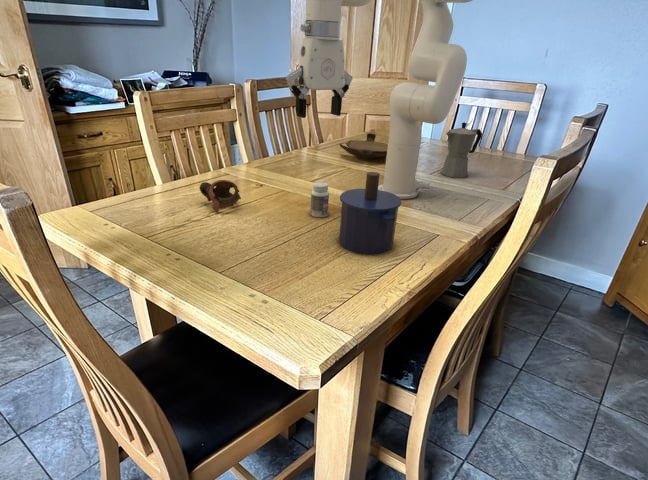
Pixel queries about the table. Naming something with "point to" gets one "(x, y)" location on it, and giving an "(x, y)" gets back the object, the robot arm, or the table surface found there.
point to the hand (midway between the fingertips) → (318, 115)
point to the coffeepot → (460, 150)
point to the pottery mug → (220, 194)
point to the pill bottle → (319, 199)
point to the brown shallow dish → (366, 147)
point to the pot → (367, 230)
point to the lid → (370, 197)
